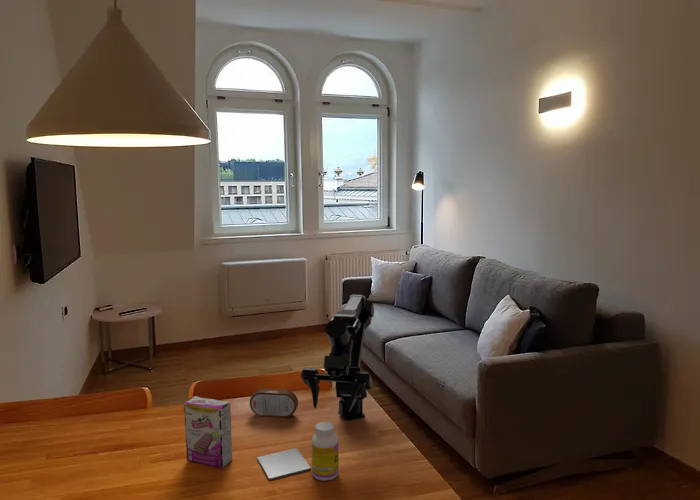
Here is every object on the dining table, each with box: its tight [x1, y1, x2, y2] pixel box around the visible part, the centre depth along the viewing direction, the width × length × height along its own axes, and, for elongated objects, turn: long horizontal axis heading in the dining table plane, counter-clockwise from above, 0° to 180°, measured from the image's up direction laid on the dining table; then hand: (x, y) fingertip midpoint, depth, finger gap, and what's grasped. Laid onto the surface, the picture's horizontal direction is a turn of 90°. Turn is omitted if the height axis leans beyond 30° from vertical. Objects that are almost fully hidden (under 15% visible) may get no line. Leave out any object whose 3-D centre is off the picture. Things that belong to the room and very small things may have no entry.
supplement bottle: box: [311, 421, 340, 482], centre depth 131 cm, size 7×7×13 cm
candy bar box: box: [183, 395, 233, 469], centre depth 138 cm, size 11×5×16 cm, turn 71°
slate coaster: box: [256, 447, 312, 481], centre depth 137 cm, size 11×11×1 cm
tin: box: [249, 388, 299, 418], centre depth 164 cm, size 15×3×8 cm, turn 84°
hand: (331, 409), depth 138 cm, fingers open, 9 cm apart
